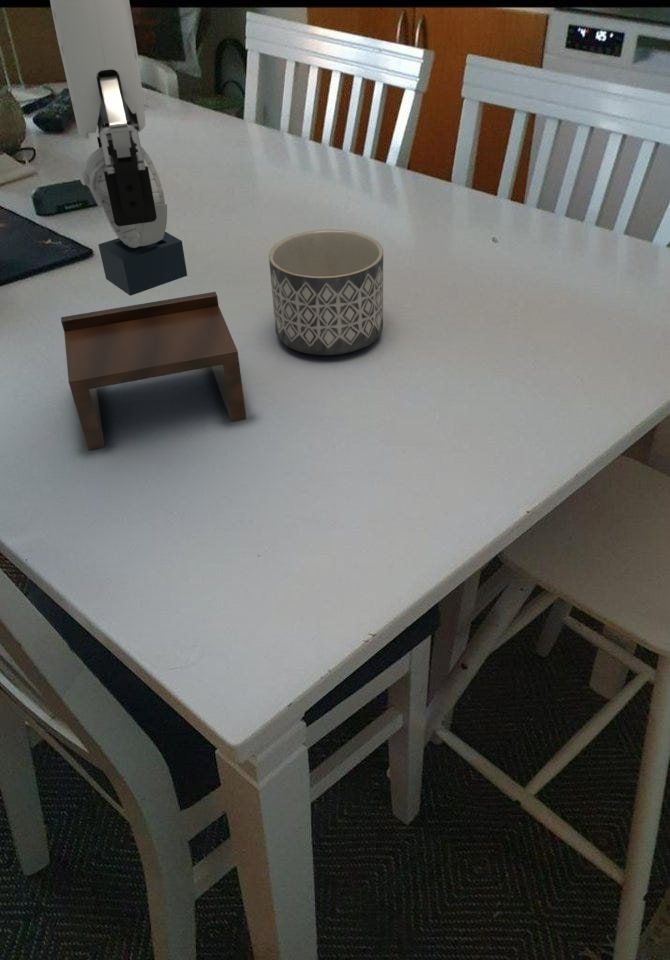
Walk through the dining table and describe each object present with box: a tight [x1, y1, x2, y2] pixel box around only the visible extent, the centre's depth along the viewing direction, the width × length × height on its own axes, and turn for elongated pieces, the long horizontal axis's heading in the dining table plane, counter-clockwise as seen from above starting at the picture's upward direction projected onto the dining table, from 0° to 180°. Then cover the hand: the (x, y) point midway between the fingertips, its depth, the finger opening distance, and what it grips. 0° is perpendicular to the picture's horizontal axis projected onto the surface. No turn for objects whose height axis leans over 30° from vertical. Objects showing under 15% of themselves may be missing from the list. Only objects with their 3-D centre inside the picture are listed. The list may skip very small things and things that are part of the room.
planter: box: [268, 229, 384, 356], centre depth 93 cm, size 13×13×10 cm
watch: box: [79, 143, 188, 297], centre depth 66 cm, size 6×8×11 cm
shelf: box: [60, 291, 247, 451], centre depth 83 cm, size 16×11×9 cm
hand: (131, 201), depth 66 cm, fingers closed on watch, 8 cm apart
